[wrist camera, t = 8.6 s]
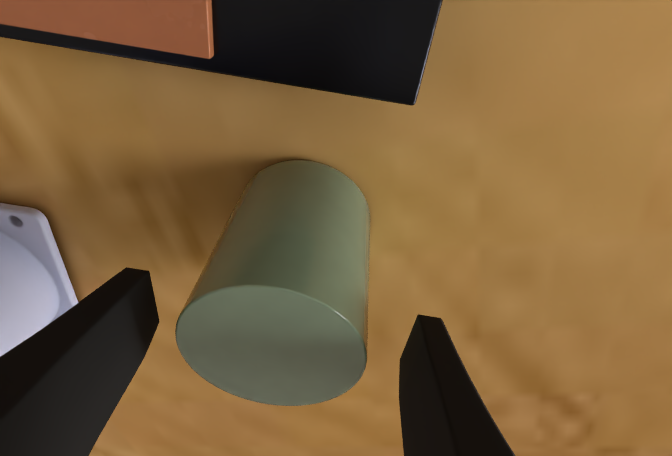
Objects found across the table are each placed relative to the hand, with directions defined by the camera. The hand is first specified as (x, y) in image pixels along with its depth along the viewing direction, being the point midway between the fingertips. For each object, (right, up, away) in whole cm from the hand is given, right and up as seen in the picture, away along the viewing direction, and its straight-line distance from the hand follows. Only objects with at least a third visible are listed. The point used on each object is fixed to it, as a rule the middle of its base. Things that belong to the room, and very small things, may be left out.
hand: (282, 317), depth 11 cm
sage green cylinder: (0, +3, +4) cm, 5 cm away
